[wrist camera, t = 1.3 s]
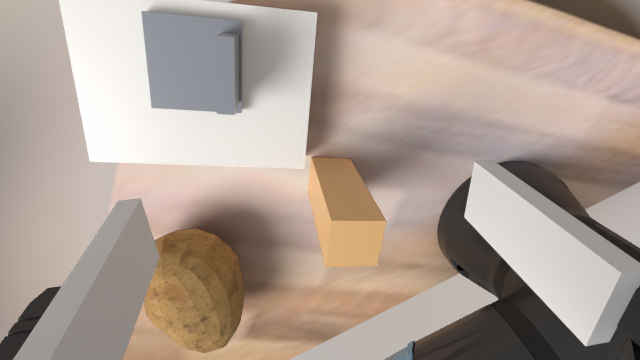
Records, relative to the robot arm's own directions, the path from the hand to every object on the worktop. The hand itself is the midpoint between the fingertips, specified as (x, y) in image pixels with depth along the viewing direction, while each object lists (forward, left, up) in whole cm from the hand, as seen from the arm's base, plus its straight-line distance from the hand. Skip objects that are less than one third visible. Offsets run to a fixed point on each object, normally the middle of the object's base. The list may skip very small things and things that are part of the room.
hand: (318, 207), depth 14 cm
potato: (+8, +19, -21) cm, 29 cm away
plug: (-5, +8, -20) cm, 22 cm away
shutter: (+7, -3, -17) cm, 19 cm away
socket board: (+7, -1, -20) cm, 22 cm away
